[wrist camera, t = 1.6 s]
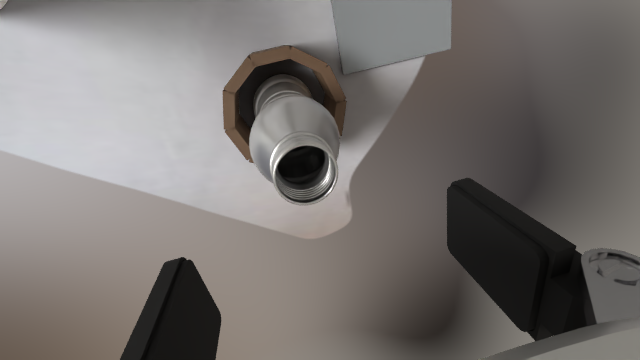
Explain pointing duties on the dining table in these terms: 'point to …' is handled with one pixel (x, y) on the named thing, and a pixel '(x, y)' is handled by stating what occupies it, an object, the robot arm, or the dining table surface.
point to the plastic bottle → (294, 140)
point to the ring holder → (322, 71)
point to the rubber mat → (389, 31)
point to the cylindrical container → (2, 3)
